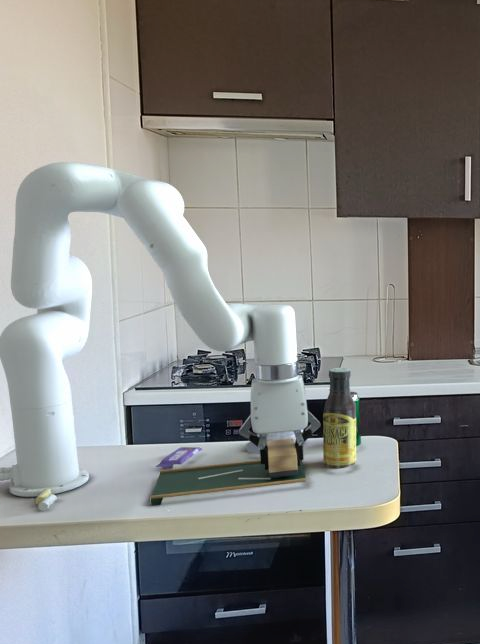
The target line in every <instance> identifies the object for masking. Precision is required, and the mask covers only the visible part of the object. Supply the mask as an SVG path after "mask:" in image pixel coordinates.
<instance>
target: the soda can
mask: <svg viewBox="0 0 480 644" xmlns="http://www.w3.org/2000/svg"><path fill="white" fill-rule="evenodd" d="M350 394H351V397H352V398H353V400H354V402H355V405H356V447H359V446H360V445H361V444H362V427H361V426H362V425H361V403H360V402H361V401H360V396H359V395H358V392H357V391H350Z"/></svg>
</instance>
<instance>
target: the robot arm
mask: <svg viewBox="0 0 480 644" xmlns="http://www.w3.org/2000/svg"><path fill="white" fill-rule="evenodd" d="M76 212H78V213H83V212H84V213H101V214H107V215H110V216H114V217H118V218H122V219H124V221H125V222H126V224H127V225H128V226H129V228H130V229H131V230H132V231H133V233H134V235H135V236H136V237H137V239H139V242H141V244H142V245H143V247H144V248H145V249H146V250H147V252H148V253H149V255H150V256H151V257H152V259H153V261H154V263H156V265H157V266H158V268H159V269H160V270H161V272H162V274H163V276H164V279H165V282H166V285H167V288H168V290H169V294H170V295H171V298H172V300H173V303H174V305H175V307H176V308H177V310H178V311H179V314H180V315H181V316H182V318H183V320H185V322H186V323H187V324H188V326H189V327H190V328H191V330H192V331H193V333H194V334H195V335H196V337H197V338H198V339H199V340H200V341H201V342H202V343H203V344H204V345H205V346H206V347H208V348H209V349H211V350H214V351H217V352H229V351H231V350H234V349H236V348H238V347H239V346H240V345H243V344H245V343H248V342H253V352H254V353H253V354H254V367H255V377H254V378H252V380H251V385H250V414H249V416H248V417H247V418H246V420H245V421H244V423H243V424H242V425H241V427H240V428H239V430H238V434H239V435H240V436H242V437H243V438H244V439H247V440H248V441H249V442H250V441H251V442H252V443H253V444H254V445H256V446H257V447H258V448H259V449H260V453H259V456H260V459H259V460H261V465H262V464H265V470H268V469H269V464H268V446H266V440H267V436H268V434H269V433H279V432H289V431H293V432H294V435H295V437H296V441H295V442H296V443H295V448H296V453H297V466H300V460H302V461H304V460H305V459H304V444H305V442H306V441H308V439H309V438H310V437H311V436H312V434H313V433H315V432H316V431H317V430H318V429H319V428H321V422H320V421H319V419H317V418H316V417H315V415H313V414H312V412H310V410H309V409H308V402H307V393H306V388H305V387H306V386H305V382H304V378H303V376H302V375H301V374H300V373H301V372H302V371H307V365H306V363H303V362H300V361H298V347H297V345H298V344H297V331H296V330H297V328H296V327H297V326H296V316H295V310H294V308H293V307H292V306H291V305H288V304H284V303H283V304H282V303H280V304H279V303H278V304H277V303H274V304H273V303H272V304H264V305H255V304H247V303H229V304H227V303H226V301H225V299H224V298H223V297H222V296H221V294H220V293H219V291H218V289H217V288H216V286H215V285H214V282H213V280H212V278H211V276H210V272H209V269H208V250H207V247H206V246H205V244H204V243H203V241H202V240H201V239H200V237H199V236H198V234H197V232H195V230H194V229H193V228H192V226H191V225H190V223H189V222H188V221H187V219H186V218H185V217H184V213H185V202H184V199H183V196H182V195H181V193H180V192H179V190H178V189H177V188H176V187H175V186H173V185H172V184H170V183H167V182H164V181H160V180H155V179H152V178H148V177H143V176H140V175H136V174H132V173H128V172H125V171H121V170H117V169H114V168H111V167H106V166H101V165H96V164H89V163H83V162H75V161H59V162H53V163H48V164H45V165H42V166H40V167H37V168H35V169H34V170H33V171H30V172H29V173H28V174H27V175H26V176H25V177H24V179H23V180H21V183H20V184H19V187H18V189H17V191H16V197H15V211H14V213H15V214H14V218H15V219H14V223H15V224H14V236H13V245H12V260H11V273H10V290H11V295H12V296H13V298H14V300H15V301H16V302H17V303H18V304H19V305H21V306H23V307H25V308H28V309H32V310H33V309H34V310H36V313H34V314H31V315H27V316H23V317H20V318H17V319H15V320H14V321H12V322H10V323H9V324H8V325H6V327H5V328H4V329H3V330H2V332H1V333H0V362H1V365H2V368H3V371H4V374H5V379H6V383H7V389H8V395H9V396H8V397H9V404H10V410H11V421H12V429H13V439H14V448H15V456H16V464H12V465H11V466H10V467H9V466H8V467H0V482H1V481H2V482H3V481H10V484H9V486H8V487H9V492H10V494H11V495H14V496H17V497H23V498H25V497H26V498H34V497H35V498H37V497H38V496H39V494H40V493H41V492H42V491H43V490H44V489H49V490H51V494H54V495H56V494H61V493H66V492H69V491H73V490H74V489H77V488H80V487H81V486H83V485H84V484H86V483H87V482H88V481H89V479H90V474H89V471H88V470H86V469H84V468H80V467H79V457H78V447H77V436H76V427H75V417H74V407H73V398H72V389H71V384H70V380H69V376H68V374H67V372H66V369H65V367H64V364H63V361H64V360H67V359H69V358H72V357H74V356H75V355H77V354H79V353H80V352H81V351H82V349H83V348H84V347H85V345H86V343H87V341H88V338H89V332H90V322H91V310H92V309H91V307H92V298H93V279H92V275H91V272H90V270H89V267H88V266H87V265H86V263H85V262H84V261H83V260H81V259H80V257H77V256H76V255H73V254H70V251H71V250H70V249H71V243H72V232H71V227H70V222H69V219H68V218H69V215H70V214H71V213H76ZM309 423H310V424H309ZM250 429H252V431H250ZM302 429H303V432H302V433H301V430H302ZM257 434H260V436H259V437H258V436H257Z"/></svg>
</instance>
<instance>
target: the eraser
mask: <svg viewBox="0 0 480 644" xmlns="http://www.w3.org/2000/svg"><path fill="white" fill-rule="evenodd" d="M267 446H268V464H269V478H276V477H284V476H293V475H298V470H297V453H296V448H295V442H294V438H291V439H281V440H271V441H267Z"/></svg>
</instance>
